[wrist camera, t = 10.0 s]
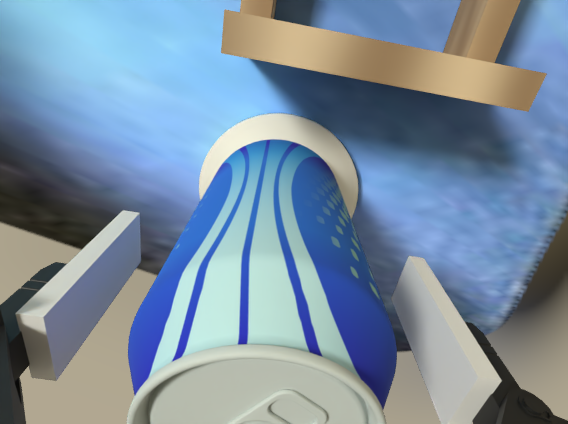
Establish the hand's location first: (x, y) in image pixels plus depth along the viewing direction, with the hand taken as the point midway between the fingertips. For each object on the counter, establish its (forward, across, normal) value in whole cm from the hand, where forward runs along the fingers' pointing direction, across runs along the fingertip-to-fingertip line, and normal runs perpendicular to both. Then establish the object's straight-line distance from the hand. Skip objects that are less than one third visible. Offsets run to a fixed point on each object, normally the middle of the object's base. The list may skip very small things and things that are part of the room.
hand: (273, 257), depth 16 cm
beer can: (+8, 0, 0) cm, 8 cm away
